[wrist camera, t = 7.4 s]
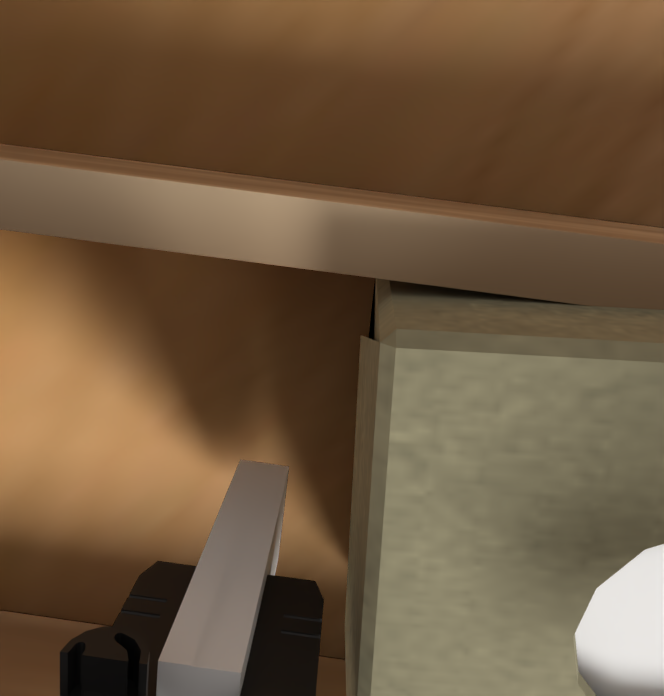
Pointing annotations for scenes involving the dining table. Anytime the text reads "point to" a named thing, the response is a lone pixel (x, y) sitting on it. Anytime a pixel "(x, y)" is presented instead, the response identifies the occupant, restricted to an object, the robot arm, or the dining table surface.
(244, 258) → the bay
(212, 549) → the robot arm
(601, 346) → the tissue box
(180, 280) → the dining table surface
